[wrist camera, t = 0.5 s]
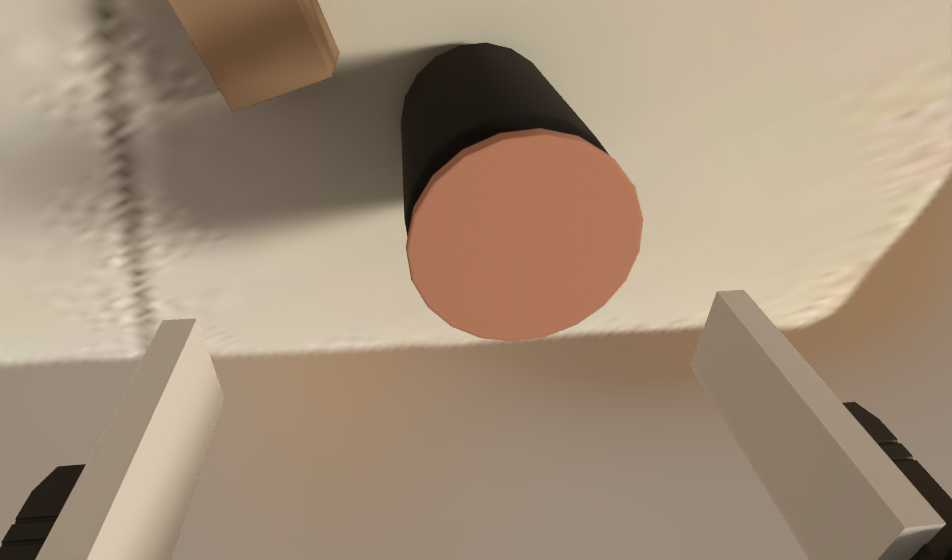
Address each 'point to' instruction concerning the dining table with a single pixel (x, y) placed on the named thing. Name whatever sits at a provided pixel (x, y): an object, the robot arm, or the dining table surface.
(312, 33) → the walnut block
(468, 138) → the coffee jar
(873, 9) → the dining table surface
